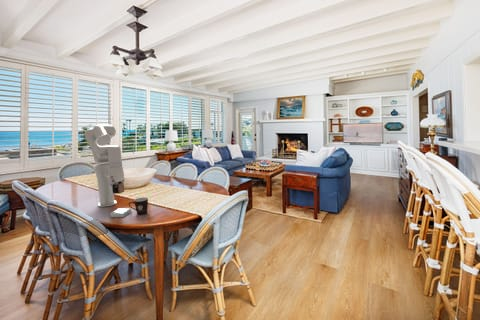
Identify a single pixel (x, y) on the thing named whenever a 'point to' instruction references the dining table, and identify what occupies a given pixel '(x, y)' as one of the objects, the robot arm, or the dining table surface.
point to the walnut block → (119, 188)
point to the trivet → (120, 212)
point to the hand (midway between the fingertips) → (118, 191)
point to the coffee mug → (141, 205)
